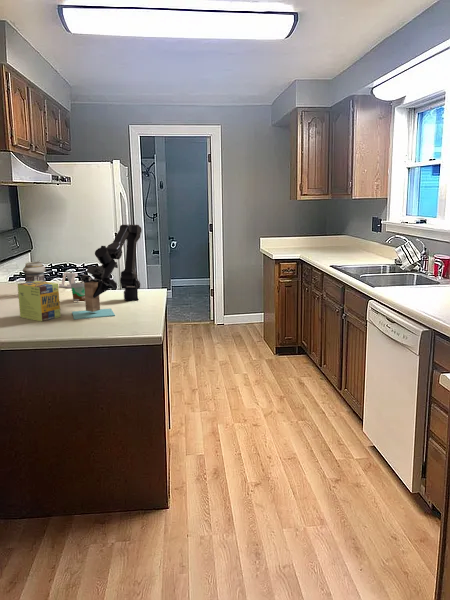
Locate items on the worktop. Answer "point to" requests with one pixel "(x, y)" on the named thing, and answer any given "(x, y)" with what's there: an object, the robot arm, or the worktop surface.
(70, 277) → the portable electronic device stand
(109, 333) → the worktop surface
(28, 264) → the apothecary jar
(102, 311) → the teal mat
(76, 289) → the food container
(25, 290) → the protein box
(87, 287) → the walnut block
